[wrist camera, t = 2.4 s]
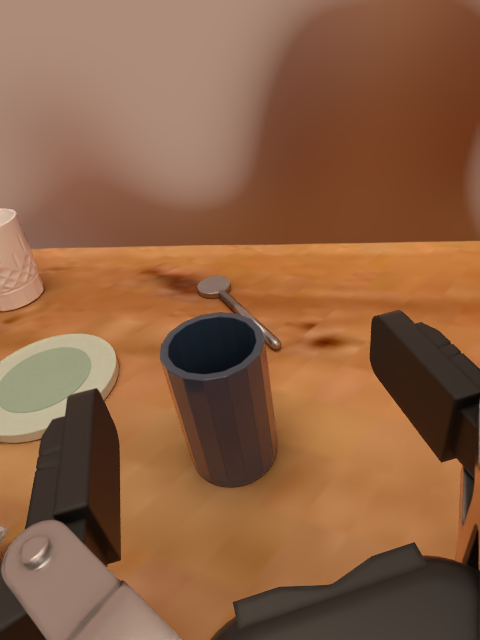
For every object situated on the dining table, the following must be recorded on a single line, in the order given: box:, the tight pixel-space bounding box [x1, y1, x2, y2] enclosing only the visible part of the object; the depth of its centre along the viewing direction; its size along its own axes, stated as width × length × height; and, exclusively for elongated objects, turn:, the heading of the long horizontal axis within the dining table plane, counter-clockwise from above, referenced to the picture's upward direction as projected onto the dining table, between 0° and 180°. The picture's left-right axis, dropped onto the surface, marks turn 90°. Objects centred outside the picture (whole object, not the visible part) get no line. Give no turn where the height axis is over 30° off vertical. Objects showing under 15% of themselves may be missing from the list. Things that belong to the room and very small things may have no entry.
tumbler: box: [160, 312, 277, 487], centre depth 29 cm, size 6×6×10 cm
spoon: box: [197, 276, 281, 350], centre depth 45 cm, size 4×16×1 cm, turn 29°
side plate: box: [0, 334, 119, 443], centre depth 40 cm, size 13×13×1 cm
